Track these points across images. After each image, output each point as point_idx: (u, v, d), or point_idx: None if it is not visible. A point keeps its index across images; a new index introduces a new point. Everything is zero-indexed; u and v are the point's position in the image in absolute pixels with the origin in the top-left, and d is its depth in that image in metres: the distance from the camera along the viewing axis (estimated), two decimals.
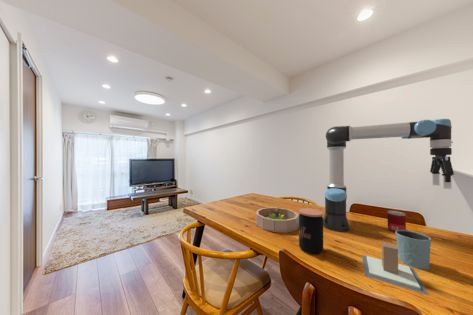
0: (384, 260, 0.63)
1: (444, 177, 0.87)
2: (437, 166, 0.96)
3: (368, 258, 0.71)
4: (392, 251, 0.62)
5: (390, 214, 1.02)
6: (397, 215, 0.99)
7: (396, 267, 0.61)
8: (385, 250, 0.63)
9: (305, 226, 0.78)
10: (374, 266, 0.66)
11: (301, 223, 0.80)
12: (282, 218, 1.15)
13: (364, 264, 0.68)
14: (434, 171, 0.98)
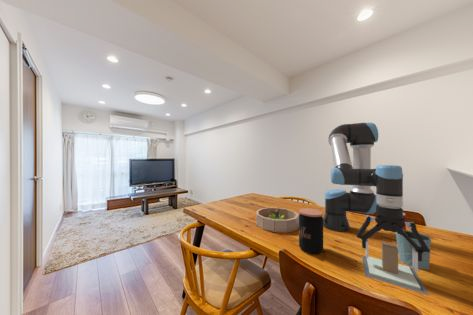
0: (384, 260, 0.63)
1: None
2: (403, 235, 0.62)
3: (368, 258, 0.71)
4: (392, 251, 0.62)
5: None
6: None
7: (396, 267, 0.61)
8: (385, 250, 0.63)
9: (305, 226, 0.78)
10: (374, 266, 0.66)
11: (301, 223, 0.80)
12: (282, 219, 1.14)
13: (364, 264, 0.68)
14: None
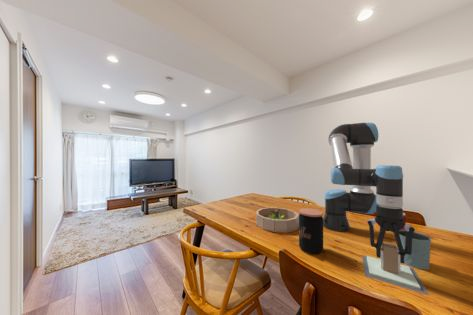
0: (384, 260, 0.63)
1: None
2: (395, 236, 0.63)
3: (368, 258, 0.71)
4: (392, 251, 0.62)
5: None
6: None
7: (396, 267, 0.61)
8: (385, 250, 0.63)
9: (305, 226, 0.78)
10: (374, 266, 0.66)
11: (301, 223, 0.80)
12: (282, 219, 1.14)
13: (364, 264, 0.68)
14: (397, 246, 0.63)
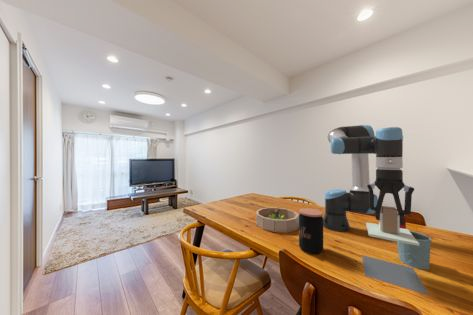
0: (383, 222, 0.64)
1: None
2: (394, 198, 0.64)
3: (367, 224, 0.72)
4: (392, 213, 0.62)
5: None
6: None
7: (395, 228, 0.62)
8: (384, 212, 0.64)
9: (305, 226, 0.78)
10: (374, 229, 0.66)
11: (301, 223, 0.80)
12: (282, 219, 1.14)
13: (364, 264, 0.68)
14: (397, 208, 0.64)
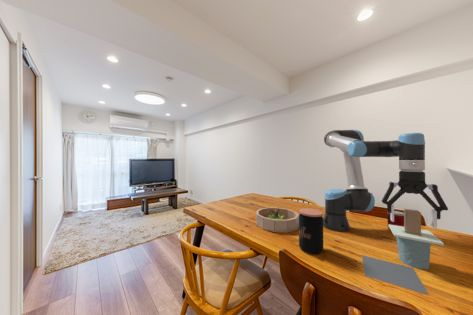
0: (407, 224, 0.69)
1: None
2: (423, 197, 0.68)
3: (390, 225, 0.77)
4: (415, 215, 0.68)
5: None
6: (397, 215, 0.99)
7: (419, 229, 0.67)
8: (408, 214, 0.69)
9: (305, 226, 0.78)
10: (398, 230, 0.72)
11: (301, 223, 0.80)
12: (282, 219, 1.13)
13: (364, 264, 0.68)
14: (431, 205, 0.67)
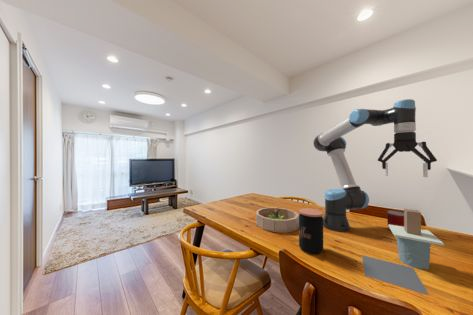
0: (407, 224, 0.69)
1: None
2: (415, 153, 0.80)
3: (390, 225, 0.77)
4: (415, 215, 0.68)
5: (390, 214, 1.02)
6: (397, 215, 0.99)
7: (419, 229, 0.67)
8: (408, 214, 0.69)
9: (305, 226, 0.78)
10: (398, 230, 0.72)
11: (301, 223, 0.80)
12: (282, 219, 1.13)
13: (364, 264, 0.68)
14: (423, 159, 0.79)
